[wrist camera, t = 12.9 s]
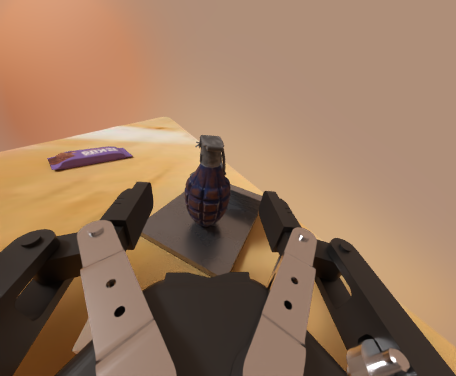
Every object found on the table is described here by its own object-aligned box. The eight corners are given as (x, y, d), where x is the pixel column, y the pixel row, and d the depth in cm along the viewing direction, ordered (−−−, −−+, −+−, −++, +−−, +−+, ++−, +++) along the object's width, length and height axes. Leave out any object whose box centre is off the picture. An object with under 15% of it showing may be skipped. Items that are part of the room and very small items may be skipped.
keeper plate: (135, 233, 18) (130, 211, 16) (194, 188, 27) (195, 171, 25) (224, 284, 15) (229, 263, 13) (258, 214, 23) (263, 196, 22)
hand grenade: (184, 204, 22) (183, 127, 16) (219, 203, 23) (229, 131, 18) (185, 239, 17) (185, 148, 12) (229, 235, 18) (247, 151, 13)
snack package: (122, 143, 35) (131, 151, 32) (123, 152, 36) (133, 160, 33) (44, 152, 27) (48, 164, 24) (49, 163, 28) (54, 175, 25)
